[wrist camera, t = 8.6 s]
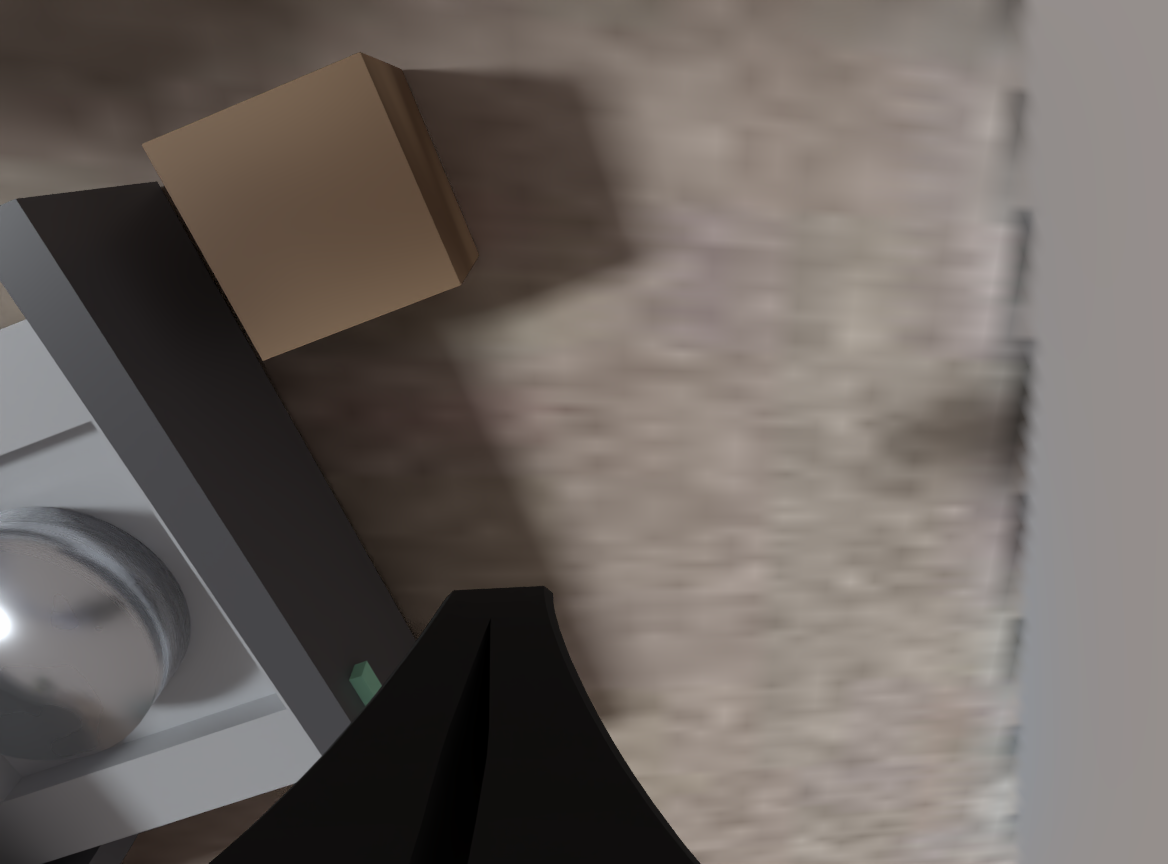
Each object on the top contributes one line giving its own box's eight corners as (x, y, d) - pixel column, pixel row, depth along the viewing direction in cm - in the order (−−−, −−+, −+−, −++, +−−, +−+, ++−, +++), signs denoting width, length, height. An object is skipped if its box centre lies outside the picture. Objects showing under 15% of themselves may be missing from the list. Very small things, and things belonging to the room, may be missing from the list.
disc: (-115, 556, 17) (-188, 603, 15) (99, 472, 16) (47, 512, 14) (41, 730, 19) (-9, 789, 17) (235, 661, 18) (204, 715, 17)
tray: (-310, 375, 17) (-589, 453, 13) (169, 176, 15) (32, 192, 11) (95, 832, 22) (-7, 987, 18) (468, 713, 21) (447, 851, 17)
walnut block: (227, 141, 15) (141, 144, 12) (401, 69, 15) (360, 51, 12) (318, 316, 17) (262, 361, 14) (479, 255, 17) (461, 285, 13)
